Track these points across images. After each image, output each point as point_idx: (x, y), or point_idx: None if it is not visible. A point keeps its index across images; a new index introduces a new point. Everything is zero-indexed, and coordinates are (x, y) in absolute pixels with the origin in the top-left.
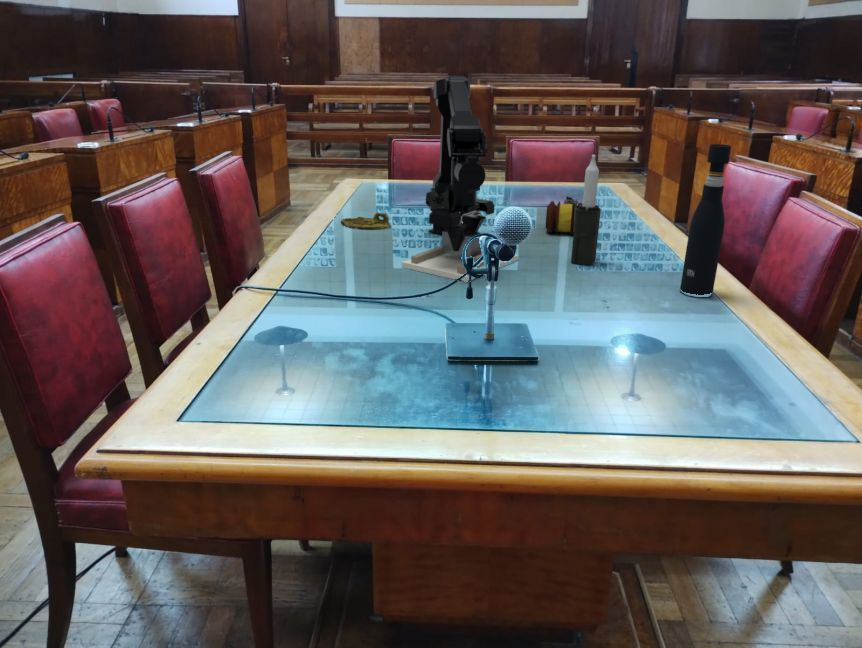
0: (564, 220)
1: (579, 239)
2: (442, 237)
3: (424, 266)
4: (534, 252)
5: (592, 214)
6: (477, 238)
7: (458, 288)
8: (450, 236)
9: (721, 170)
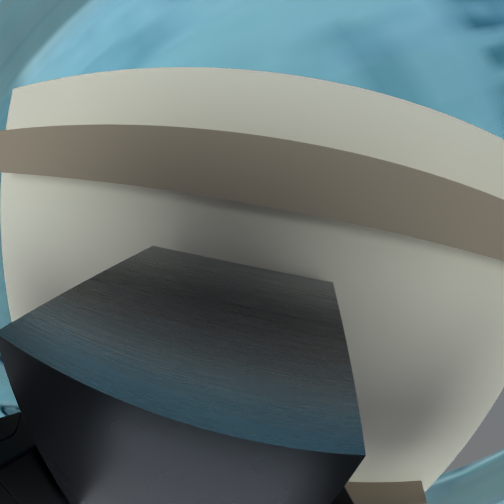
0: None
1: None
2: (60, 301)
3: (6, 228)
4: (497, 479)
5: None
6: None
7: (11, 387)
8: (15, 427)
9: None
